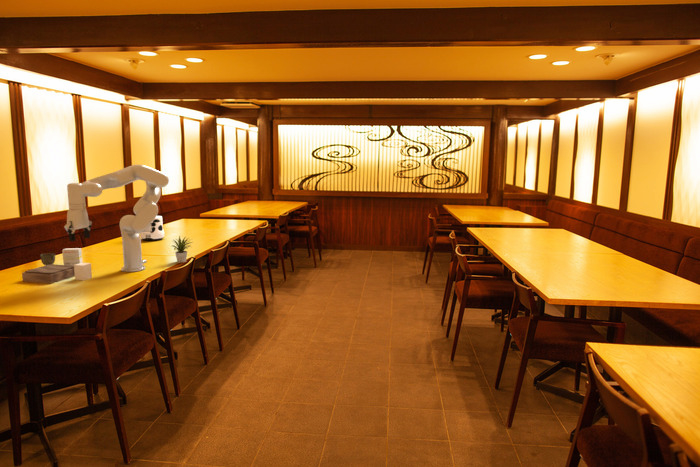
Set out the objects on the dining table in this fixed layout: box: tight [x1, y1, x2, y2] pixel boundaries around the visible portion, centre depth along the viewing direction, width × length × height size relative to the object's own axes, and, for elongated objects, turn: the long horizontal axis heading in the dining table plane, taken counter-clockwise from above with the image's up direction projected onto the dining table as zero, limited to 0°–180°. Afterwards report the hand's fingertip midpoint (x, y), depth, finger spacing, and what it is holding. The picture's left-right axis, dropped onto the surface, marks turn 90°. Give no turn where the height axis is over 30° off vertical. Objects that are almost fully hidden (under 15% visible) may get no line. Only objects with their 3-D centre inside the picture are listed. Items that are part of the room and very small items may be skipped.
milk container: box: [139, 215, 165, 241], centre depth 354 cm, size 17×17×18 cm
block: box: [74, 262, 93, 281], centre depth 242 cm, size 6×6×8 cm
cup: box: [39, 252, 56, 266], centre depth 265 cm, size 8×7×8 cm
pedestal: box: [21, 263, 75, 285], centre depth 242 cm, size 18×18×5 cm
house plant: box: [171, 235, 194, 264], centre depth 281 cm, size 14×14×16 cm
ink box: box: [61, 247, 83, 266], centre depth 262 cm, size 9×5×12 cm, turn 102°
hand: (79, 239), depth 239 cm, fingers open, 9 cm apart
